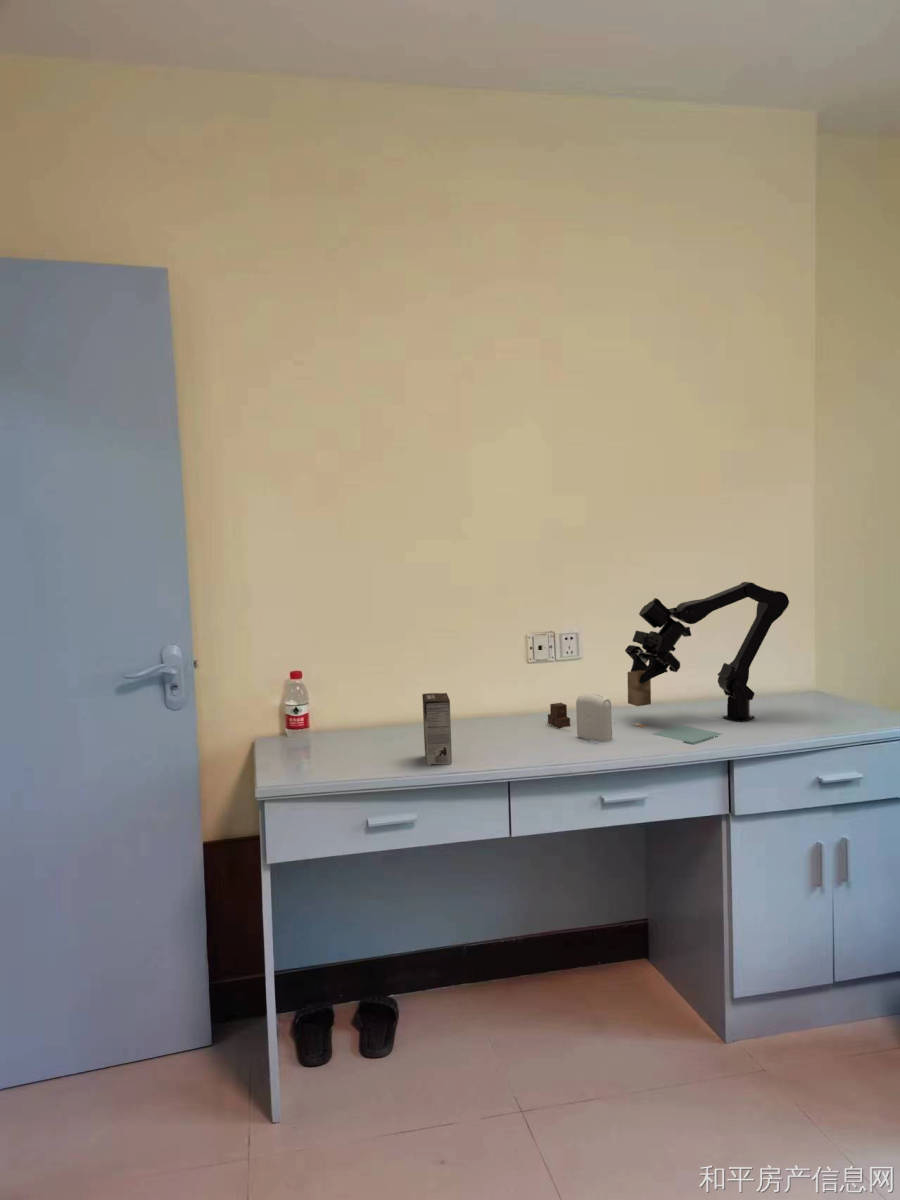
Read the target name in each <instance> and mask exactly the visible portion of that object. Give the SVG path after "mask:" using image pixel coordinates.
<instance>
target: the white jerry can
mask: <svg viewBox="0 0 900 1200" xmlns="http://www.w3.org/2000/svg"><path fill="white" fill-rule="evenodd" d="M575 707H576V711H575V713H576V735H577V737H578V738H580V737H581V739H585V740H591V741H597V742H603V743H604V742H611V741H612V740H613V725H612V724H613V721H612V720H613V719H612V702H611V700H610V699H609V698H608V697H606V696H604V695H602V694H599V693H595V692H587V693H583V694H579V695H578V696H577V697H576V701H575Z"/></svg>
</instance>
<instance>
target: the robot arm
mask: <svg viewBox="0 0 900 1200" xmlns="http://www.w3.org/2000/svg"><path fill="white" fill-rule="evenodd" d="M746 598H749V599H751V600H753V601H755V602H756V603H757V605H756V613H755V614H756V615H755V618H754V620H753V622H752V624H751V625H750V627H749V630H748V631H747V634H746V636H745V638H744V640H743V641H742V644H741V646H740V648H739V649H738V651H737V653H736V655H735V657H734V659H733V660H732V661H731V662H729V663H726V662H724V663H723V664H722V666H721V669H720V672H718V673H717V674H716V675H717V676H718V677H717V684H718V686H719V688H720V689H722V690H723V693H724V695H725V696H728V697H727V705H726V711H727V712H726V715H723V716H722V718H723V719H726V720H732V721H737V722H746V721H749V720H752V719H755V716H754V715H750V704H751V703H750V701H753V699H754V697H755V691H753V690H752V689H751V688H750V687H749V686H748V685H747V684H748V683H749V682H748V681H749V679H750V678H749V677H750V667H751V665H752V663H753V661H754V659H755V657H756V655H757V653H758V651H759V650H760V648H761V645H762V644H763V642H764V640H765V638H766V636H767V634H768V632H769V631H770V629H771V626H772V624H773V623H774V622H776V621H777V620H778V619H779V618H780V617H781V616H782V615H783V614H784V613H785V611H786V609H787V608H788V607H789V604H790V600H789V597H788V595H787V594H786V593H784V592H783V591H779V590H772V589H767V588H765V587H762V586H760V585H757V584H756V583H754V582H750V581H742V582H741V583H739V584H737V585H735V586H732V587H729V588H727V589H725V590H722V591H720V592H717V593H714V594H713V595H710V596H708V597H705V598H702V599H694V600H693V599H692V600H688V601H683V602H680V603H679V604H678V605H677V606H675V607H671V608H667V606H666V605H664V604H663V603H662V602H661V600H660V599H659V598H656V597H654V598H653V599H652V600H651V601H649V602H648V603H646V604H645V605H644V606H643V607H642V608H641V610H640V611H639V614H638V615H639V616H640V617H641V618H642V619H643V620H644V621H646V623H648V624H649V625H650V626H651V627H652V628H653V629H656V628H659V631H658V632H656V631H654V630H653V631H652V630H651V631H649V632H645V631H639V630H635V631H634V636H633V637H632V643H637V644H640V645H641V647H640V646H639V645H635V644H634V645H633V644H630V645H628V646H627V647H626V648H625V650H624V651H625V653H626V655H628V656H629V657H630V658H631V659H632V665H631V666H632V667H631V670H630V671H639V670H642V671H644V673H643V675H642V676H641V678H640V680H639V682H640V683H644V682H646V681H648V680H650V679H651V680H652V679H654V678H656V677H657V676H660V675H663V674H665V673H668V672H669V671H670V672H673V673H678V671H679V669H680V668H681V661H680V660H679V659H678V658H677V657H675V655H674V654H673V653H672V652H675V651H676V647H675V645H676V644H677V643H678V641H679V640H680V639H681V637H684V638H687V637H692V633H691V627H690V626H685V625H684V624H683V623H686V624H688V625H694V624H697V623H698V622H700V621H702V620H703V619H705V618H706V617H707V616H709V615H710V614H711V613H713V612H714V611H717V610H719V609H722V608H724V607H727V606H730V605H732V604H735V603H737V602H739V601H741V600H744V599H746ZM674 619H677V620H674ZM681 622H682V623H681ZM660 628H661V629H660ZM644 650H645V651H644ZM647 662H648V665H647ZM668 669H669V670H668Z"/></svg>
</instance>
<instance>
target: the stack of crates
mask: <svg viewBox="0 0 900 1200" xmlns="http://www.w3.org/2000/svg"><path fill="white" fill-rule="evenodd" d="M549 705H550V707H549V708H550V709H549V710H550V713H548V714H547V724H548V723H549V724H551V725H550V726H552V725H553V726H552V727H554V726H555V727H554V728H556V727H557V728H556V729H558V728H566V727H571V717H569V716H568V711H567V710H568V709H567V708H568V707H567V704H565V703H562V702H555V703H550V704H549ZM549 724H548V725H549Z"/></svg>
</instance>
